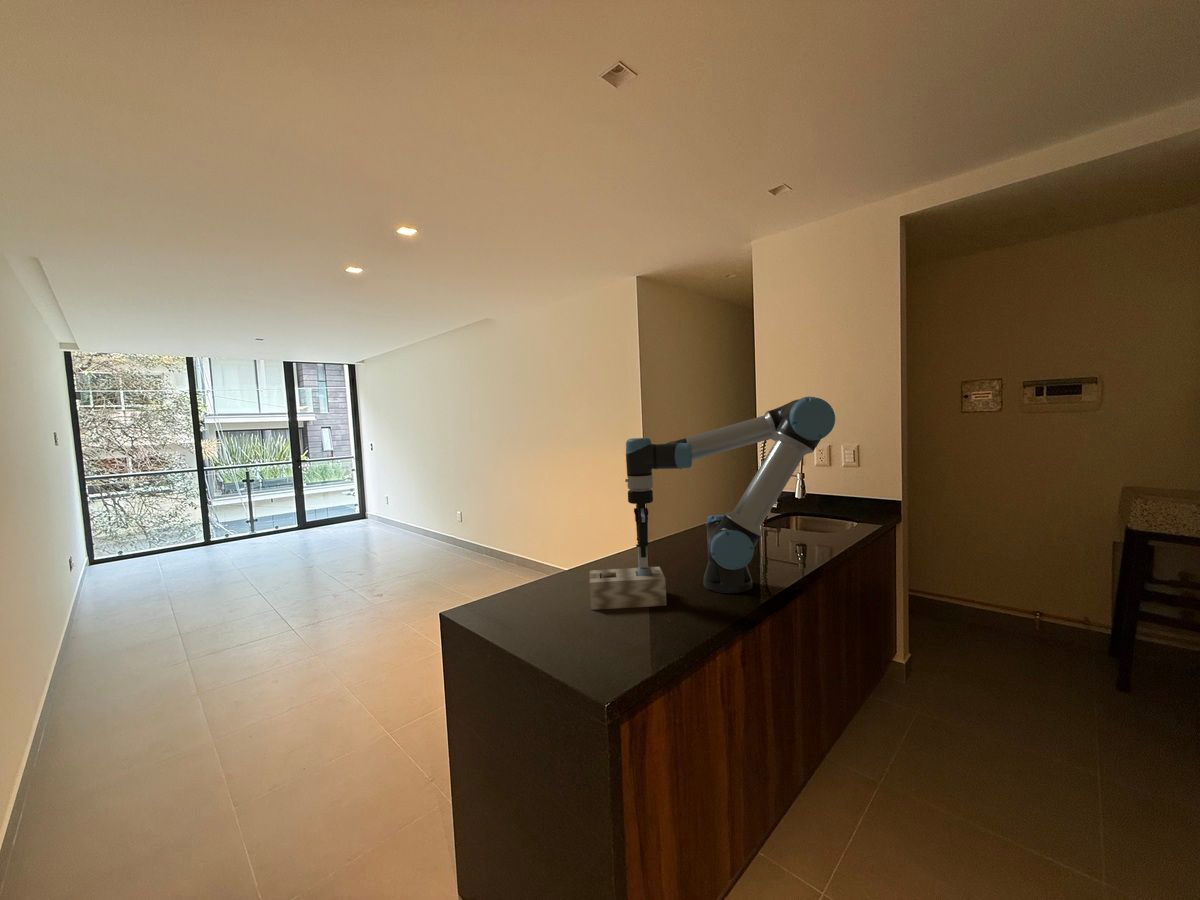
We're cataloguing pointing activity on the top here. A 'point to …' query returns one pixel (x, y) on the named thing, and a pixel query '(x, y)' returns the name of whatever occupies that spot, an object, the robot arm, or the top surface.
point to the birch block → (627, 589)
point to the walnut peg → (607, 575)
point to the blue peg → (644, 571)
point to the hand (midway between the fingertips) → (643, 566)
